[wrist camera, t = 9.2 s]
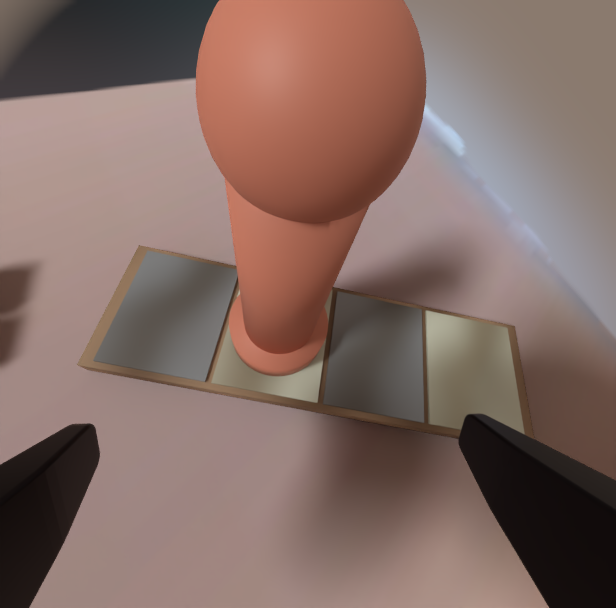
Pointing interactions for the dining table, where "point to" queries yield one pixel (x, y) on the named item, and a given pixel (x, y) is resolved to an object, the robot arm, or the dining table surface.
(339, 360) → the board
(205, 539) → the dining table surface
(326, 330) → the pawn
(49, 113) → the dining table surface
